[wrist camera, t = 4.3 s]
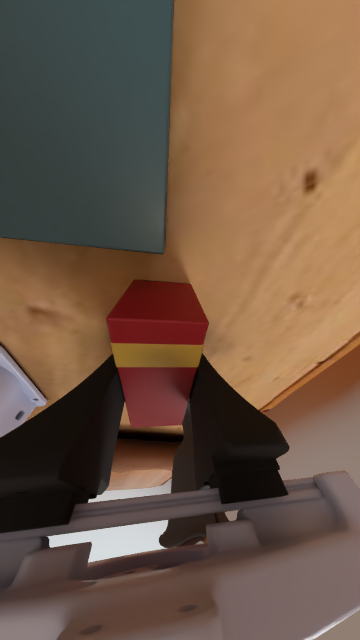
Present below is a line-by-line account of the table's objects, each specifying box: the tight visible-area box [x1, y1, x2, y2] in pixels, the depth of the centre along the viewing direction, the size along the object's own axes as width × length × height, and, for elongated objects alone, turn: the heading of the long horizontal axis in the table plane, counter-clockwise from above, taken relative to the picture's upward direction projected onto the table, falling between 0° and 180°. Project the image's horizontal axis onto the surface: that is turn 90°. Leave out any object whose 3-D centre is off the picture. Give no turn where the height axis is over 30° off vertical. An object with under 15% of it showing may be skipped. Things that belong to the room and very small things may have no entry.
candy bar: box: [106, 280, 209, 427], centre depth 10 cm, size 10×4×5 cm, turn 174°
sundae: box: [159, 402, 229, 548], centre depth 14 cm, size 7×7×15 cm
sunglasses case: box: [111, 438, 182, 473], centre depth 24 cm, size 18×7×7 cm, turn 66°
